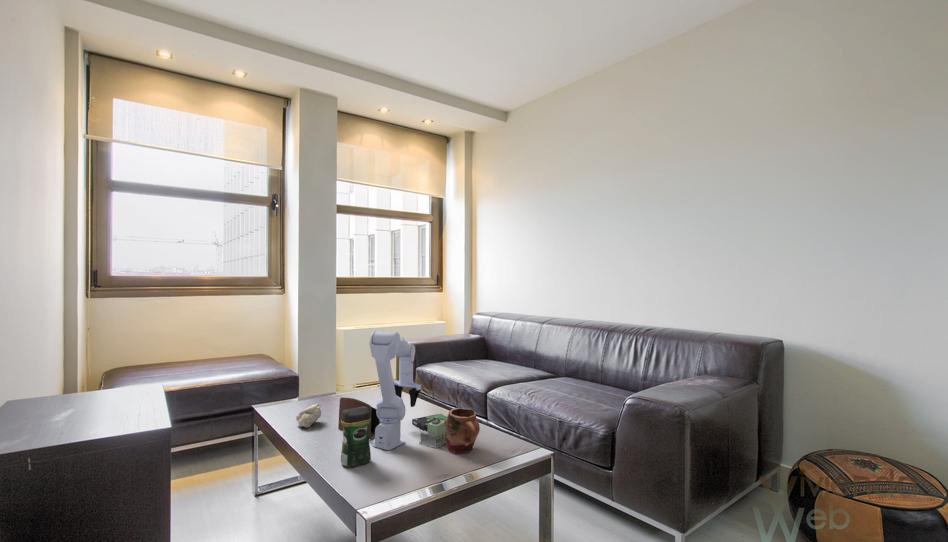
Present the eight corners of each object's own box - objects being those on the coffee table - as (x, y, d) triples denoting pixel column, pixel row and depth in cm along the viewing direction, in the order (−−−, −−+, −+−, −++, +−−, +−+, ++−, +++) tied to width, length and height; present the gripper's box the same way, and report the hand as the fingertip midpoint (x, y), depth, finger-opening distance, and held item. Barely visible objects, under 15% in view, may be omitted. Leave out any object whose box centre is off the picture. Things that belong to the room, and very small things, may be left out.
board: (437, 436, 166) (437, 423, 166) (427, 434, 169) (427, 421, 169) (447, 431, 172) (447, 418, 172) (437, 429, 175) (438, 416, 175)
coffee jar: (364, 455, 156) (364, 402, 156) (373, 463, 149) (374, 408, 150) (337, 462, 150) (338, 407, 150) (345, 470, 144) (346, 413, 144)
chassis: (436, 448, 163) (436, 436, 163) (419, 443, 167) (419, 432, 167) (454, 437, 173) (454, 427, 174) (437, 433, 178) (438, 423, 178)
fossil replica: (295, 431, 180) (320, 430, 183) (297, 411, 180) (322, 410, 183) (295, 419, 191) (319, 419, 195) (297, 401, 191) (321, 400, 194)
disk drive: (423, 432, 181) (453, 425, 190) (423, 425, 181) (453, 418, 190) (411, 425, 189) (440, 418, 198) (411, 419, 189) (440, 412, 198)
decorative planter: (491, 457, 156) (492, 418, 156) (461, 464, 149) (462, 423, 149) (462, 437, 173) (463, 402, 173) (434, 443, 166) (435, 407, 166)
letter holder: (369, 440, 170) (369, 404, 170) (337, 429, 182) (338, 395, 182) (388, 433, 178) (389, 398, 178) (357, 423, 190) (357, 390, 190)
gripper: (425, 372, 183) (425, 405, 183) (398, 368, 191) (398, 400, 191) (415, 375, 177) (414, 409, 177) (387, 371, 185) (387, 403, 184)
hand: (405, 404), depth 183 cm, fingers open, 7 cm apart
